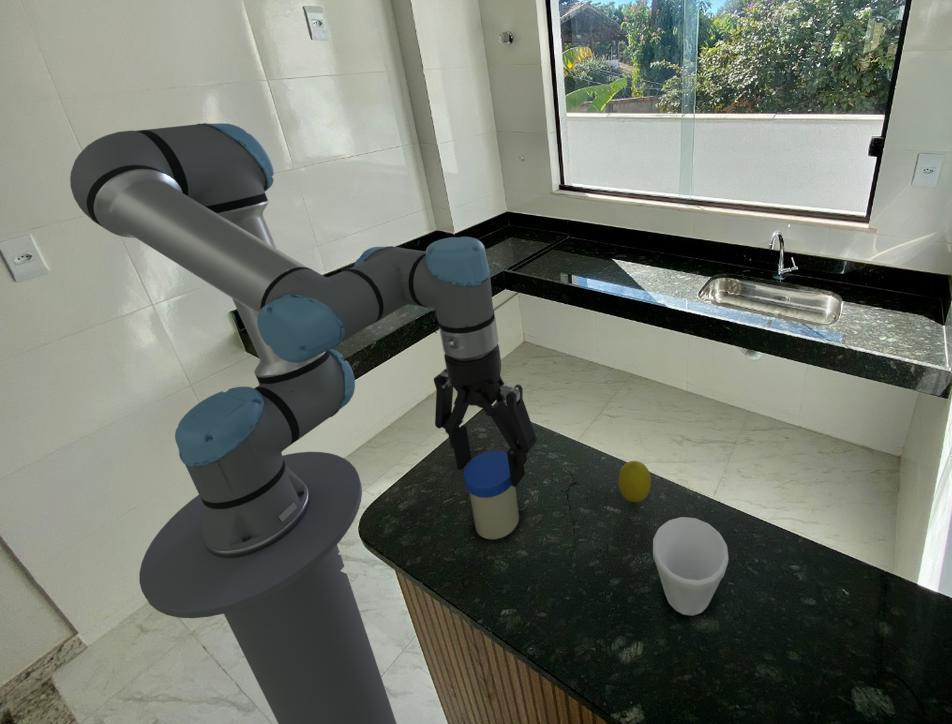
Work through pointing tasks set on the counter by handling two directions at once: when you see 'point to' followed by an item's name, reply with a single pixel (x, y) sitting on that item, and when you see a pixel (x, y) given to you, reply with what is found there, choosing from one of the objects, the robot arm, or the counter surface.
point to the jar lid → (488, 474)
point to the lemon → (634, 481)
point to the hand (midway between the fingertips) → (490, 471)
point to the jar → (495, 514)
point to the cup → (689, 563)
